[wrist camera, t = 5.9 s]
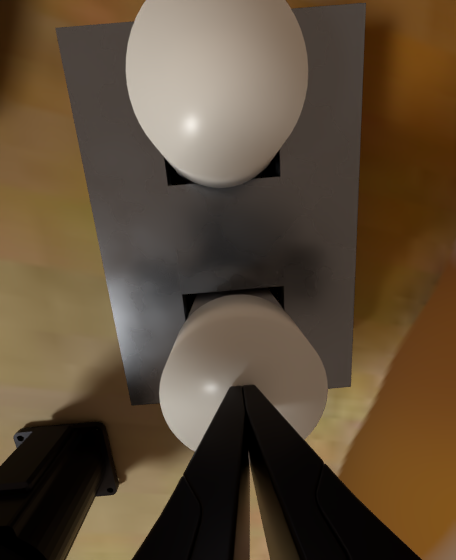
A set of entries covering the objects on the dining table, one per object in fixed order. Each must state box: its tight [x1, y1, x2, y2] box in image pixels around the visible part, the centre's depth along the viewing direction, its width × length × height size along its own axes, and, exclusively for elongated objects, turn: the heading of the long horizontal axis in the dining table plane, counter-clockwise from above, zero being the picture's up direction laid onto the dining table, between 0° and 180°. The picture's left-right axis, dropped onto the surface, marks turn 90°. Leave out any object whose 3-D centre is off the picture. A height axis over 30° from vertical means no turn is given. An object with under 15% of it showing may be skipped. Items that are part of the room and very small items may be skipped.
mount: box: [56, 3, 366, 405], centre depth 13 cm, size 17×12×4 cm
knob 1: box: [126, 0, 308, 188], centre depth 10 cm, size 6×6×6 cm
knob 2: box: [159, 287, 328, 464], centre depth 11 cm, size 6×6×6 cm
